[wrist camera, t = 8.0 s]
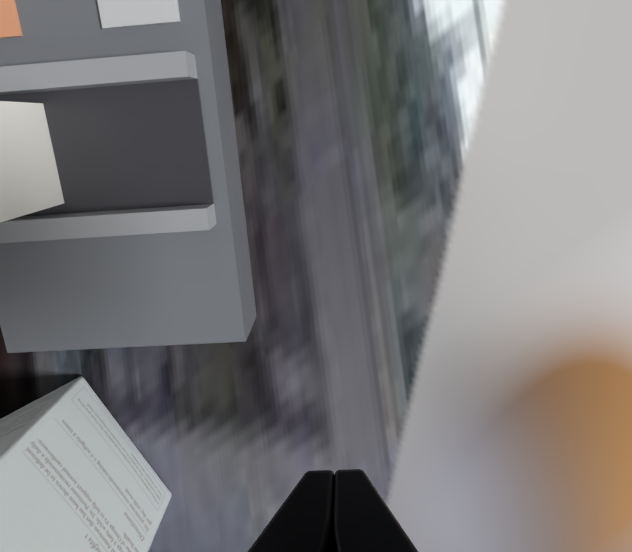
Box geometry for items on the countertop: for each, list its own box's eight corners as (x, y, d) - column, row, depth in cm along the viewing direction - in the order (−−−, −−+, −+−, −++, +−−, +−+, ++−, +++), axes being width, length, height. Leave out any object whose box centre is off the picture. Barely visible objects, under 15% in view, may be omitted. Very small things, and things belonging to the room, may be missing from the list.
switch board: (256, 316, 21) (240, 353, 18) (44, 327, 22) (-10, 365, 18) (211, -80, 17) (179, -129, 14) (-48, -53, 18) (-140, -94, 14)
